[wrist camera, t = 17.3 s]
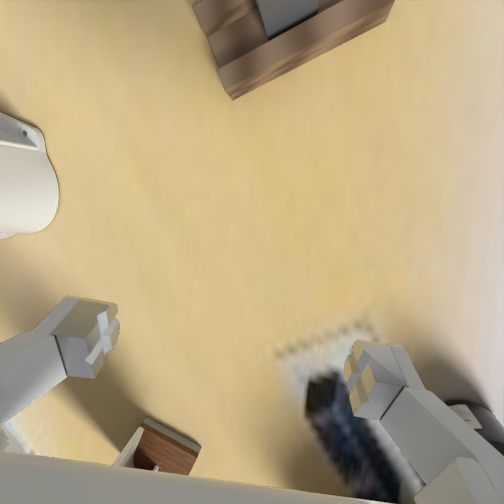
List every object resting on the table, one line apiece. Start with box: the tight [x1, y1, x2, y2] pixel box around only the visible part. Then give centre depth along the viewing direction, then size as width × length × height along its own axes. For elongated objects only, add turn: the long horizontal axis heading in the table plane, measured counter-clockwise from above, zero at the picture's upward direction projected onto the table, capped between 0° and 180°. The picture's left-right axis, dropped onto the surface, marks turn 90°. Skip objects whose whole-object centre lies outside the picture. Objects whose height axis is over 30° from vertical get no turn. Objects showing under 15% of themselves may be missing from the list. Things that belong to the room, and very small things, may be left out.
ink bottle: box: [444, 400, 504, 456], centre depth 32 cm, size 10×9×12 cm
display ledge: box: [193, 0, 395, 100], centre depth 30 cm, size 18×9×4 cm, turn 112°
